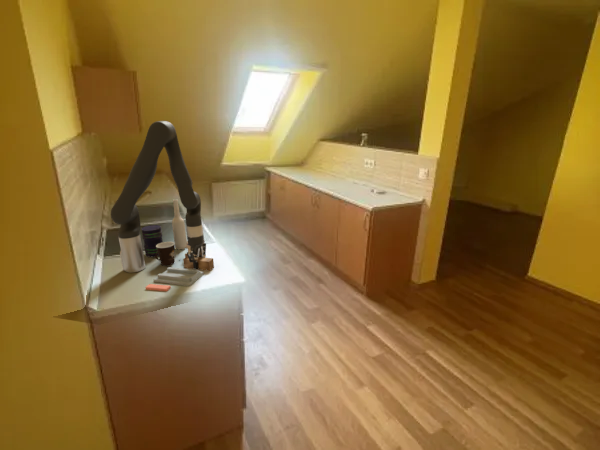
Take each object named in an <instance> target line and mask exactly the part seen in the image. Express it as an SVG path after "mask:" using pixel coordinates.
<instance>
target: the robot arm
mask: <svg viewBox="0 0 600 450" xmlns="http://www.w3.org/2000/svg"><path fill="white" fill-rule="evenodd" d="M163 149H165V152H166V153H167V154H166V155H167V158H168V163H169V169H170V173H171V176H172V178H173V181H174V182H175V185H176V188H177V190H178V197H179V199H180V202H181V204H182V205H183V207H184V208H185V210H186V213H185V232H186V239H187V241H188V244H189V245H190V246H191V247H190V252H188V251H187V252H186V254H187V256H188V258H189V261H190V262H193V266H194V269H193V270H197V269H199V267H198V257H203V258H204V255H205V254H206V253H207V252H206V249H207V243H205V242H204V241H205V237H204V227H203V223H202V216H201V215H202V213H201V209H202V201H201V196H200V194H199V193H197V192H196V191H194V188H193V180H192V177H191V175H190V173H189V172H190V171H189V170H188V168H187V165H186V163H185V160H184V157H183V154H182V151H181V147H180V144H179V138H178V135H177V130H176V127H175V126H174V124H173V123H171V122H170V121H167V120H157V121H154V122H152V123H151V124H150V126H149V127H148V129H147V133H146V136H145V139H144V142H143V144H142V148H141V150H140V151H139V153H138V155H137V157H136V159H135V162H134V164H133V165H132V167H131V169H130V172H129V174H128V177H127V180H126V182H125V184H124V185H123V188H122V190H121V193H120V195H119V197H118V198H117V200H116V202H115V203H114V204H113V206H112V208H111V210H110V218H111V220H112V221H113V222H114V223H115V224H116V225H120V226H119V229H118V231H117V237H118V242H119V246H120V251H119V256H120V262H121V266H122V270H123V271H124V272H126V273H137V272H138V273H139V272H141V271H142V270H145V268H146V267H147V266H146V262H145V253H144V249H143V243H142V236H141V228H142V227H141V217H140V212H139V211H140V210H139V207H138V205H137V202H138V200H139V199H140V198H141V197H142V195H143V194H144V193H145V192H146V191H147V189H148V188H149V187H150V186H151V184H152V182H153V179H154V178H155V175H156V173H157V169H158V160H159V157H160V154H161V152H162V151H163ZM203 250H204V252H203ZM194 255H197V256H194ZM194 257H195V258H196V260H195V258H194Z"/></svg>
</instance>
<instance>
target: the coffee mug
mask: <svg viewBox="0 0 600 450" xmlns="http://www.w3.org/2000/svg"><path fill="white" fill-rule="evenodd" d="M156 248H157V253H158V255H159V256H157V253H156V255H155V257H154V258H155V259H156V260H157V261H159V262H160V265H161V266H164V267H167V266H168V267H170V266H171V265H172V266H173V265H174V264H175V263H176V262H175V259H176V258H175V251H176V249H175V243H174V241H163V243H159V244H157V245H156ZM174 262H175V263H174Z"/></svg>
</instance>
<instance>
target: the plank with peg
mask: <svg viewBox="0 0 600 450" xmlns="http://www.w3.org/2000/svg"><path fill="white" fill-rule="evenodd" d="M194 258H195V257H194ZM195 260H196V258H195ZM182 261H183V269H192V270H195V269H194V266H193V262H190V261H189V258H188V256H187V253H185V254H184V257H183V259H182ZM198 267H199V269H196V270H199V271H207V272H208V271H209V272H210V271H211V270H213V269H214V268H215V263H214V258H212V257H211V258H210V257H205V258H203V257H198Z"/></svg>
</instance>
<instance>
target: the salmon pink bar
mask: <svg viewBox="0 0 600 450" xmlns="http://www.w3.org/2000/svg"><path fill="white" fill-rule="evenodd" d="M171 289H172V287H171V285H169V284H166V285H165V284H157V283H156V284H153V283H152V284H151V283H149V284H148V285H146V286H145V290H147V291H148V290H150V291H160V292H168V291H169V290H171Z"/></svg>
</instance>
